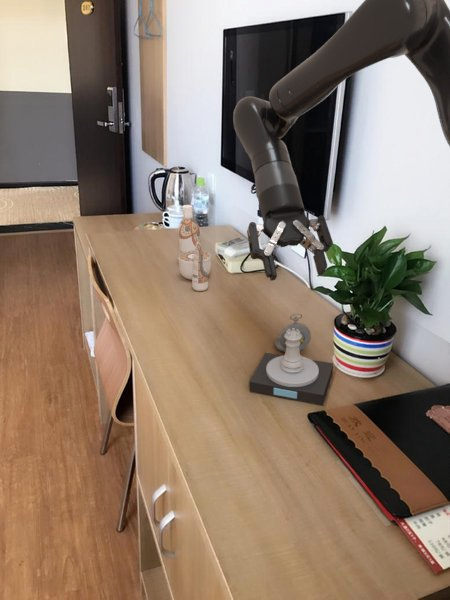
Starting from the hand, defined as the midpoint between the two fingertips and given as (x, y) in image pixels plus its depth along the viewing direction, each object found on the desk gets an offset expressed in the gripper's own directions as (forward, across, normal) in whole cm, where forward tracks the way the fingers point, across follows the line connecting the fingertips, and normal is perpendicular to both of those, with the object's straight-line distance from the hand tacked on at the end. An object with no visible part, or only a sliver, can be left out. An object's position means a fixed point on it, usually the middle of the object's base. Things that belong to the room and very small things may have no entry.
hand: (298, 275), depth 85 cm
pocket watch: (+6, +4, +27) cm, 28 cm away
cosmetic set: (-27, -10, +60) cm, 66 cm away
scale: (+15, 0, +19) cm, 24 cm away
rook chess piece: (+12, 0, +17) cm, 21 cm away
